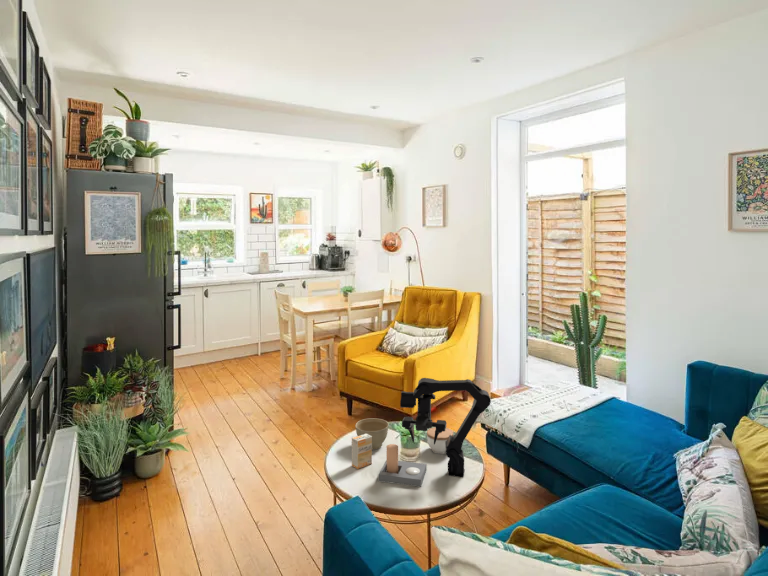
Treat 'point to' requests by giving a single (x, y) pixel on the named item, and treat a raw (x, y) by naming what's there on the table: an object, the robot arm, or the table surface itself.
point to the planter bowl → (373, 430)
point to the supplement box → (361, 451)
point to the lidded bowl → (438, 440)
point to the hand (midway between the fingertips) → (424, 442)
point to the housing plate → (404, 473)
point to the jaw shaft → (392, 458)
